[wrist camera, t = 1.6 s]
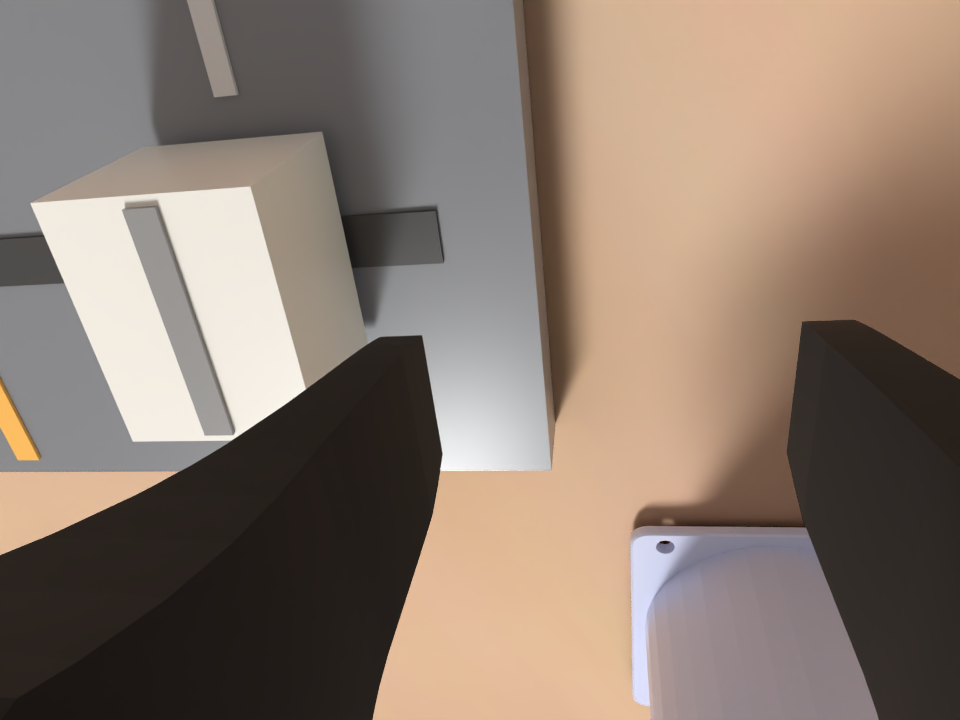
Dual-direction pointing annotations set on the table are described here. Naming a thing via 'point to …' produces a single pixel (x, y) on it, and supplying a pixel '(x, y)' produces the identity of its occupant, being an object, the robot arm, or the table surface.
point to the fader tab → (208, 280)
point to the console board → (356, 177)
